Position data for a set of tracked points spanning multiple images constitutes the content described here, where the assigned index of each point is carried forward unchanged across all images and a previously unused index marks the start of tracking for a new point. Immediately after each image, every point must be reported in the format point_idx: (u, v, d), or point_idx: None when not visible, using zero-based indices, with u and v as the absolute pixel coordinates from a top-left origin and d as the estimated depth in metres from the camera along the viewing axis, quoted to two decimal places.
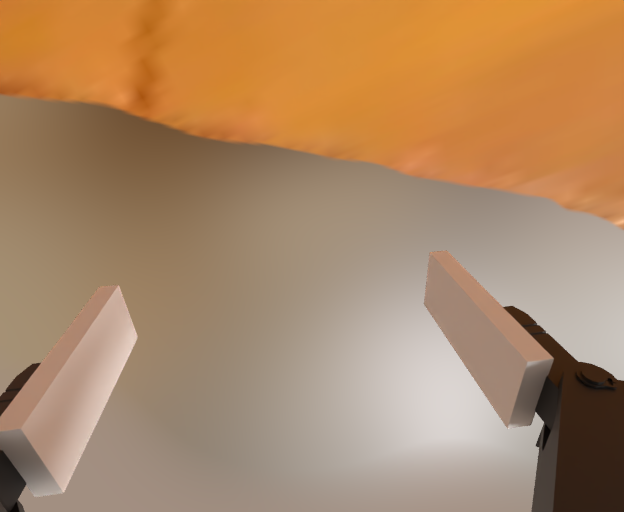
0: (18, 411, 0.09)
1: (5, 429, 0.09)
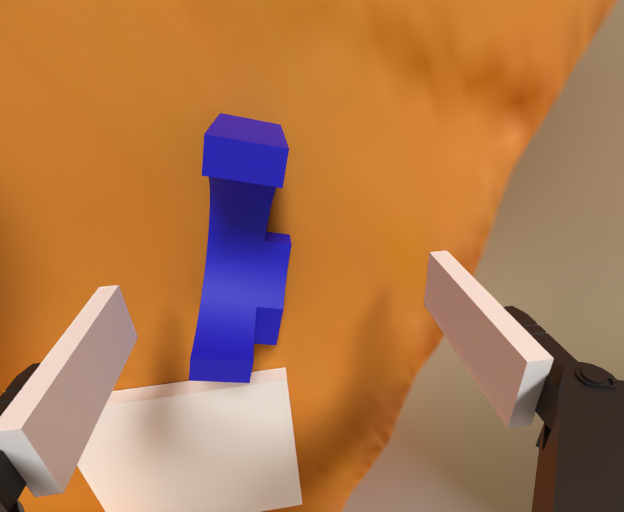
0: (18, 411, 0.09)
1: (5, 429, 0.09)
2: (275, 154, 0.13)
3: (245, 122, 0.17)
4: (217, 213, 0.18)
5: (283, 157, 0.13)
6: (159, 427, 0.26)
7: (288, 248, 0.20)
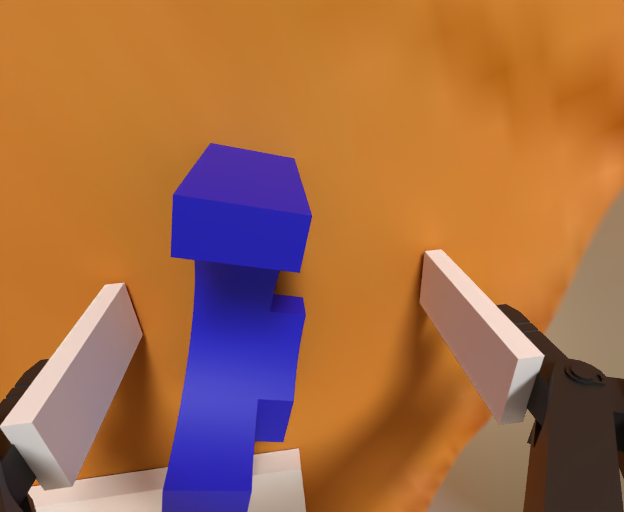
0: (28, 405, 0.09)
1: (16, 423, 0.09)
2: (289, 224, 0.08)
3: (245, 158, 0.12)
4: (205, 278, 0.13)
5: (303, 228, 0.08)
6: None
7: (301, 320, 0.15)
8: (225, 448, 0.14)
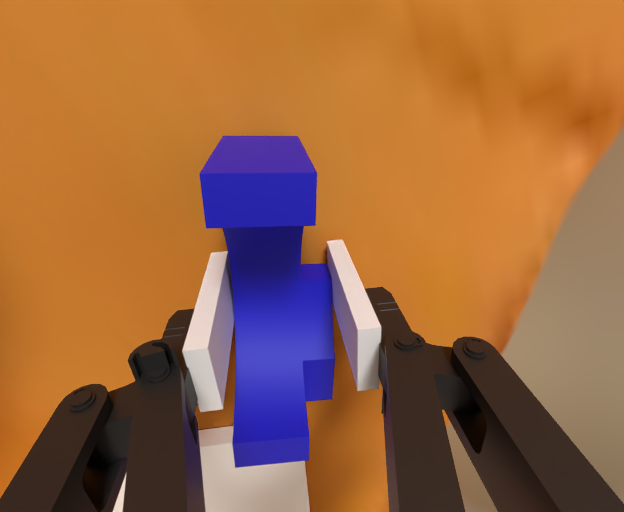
0: (198, 337, 0.11)
1: (195, 348, 0.11)
2: (299, 184, 0.10)
3: (254, 143, 0.13)
4: (238, 257, 0.15)
5: (311, 185, 0.10)
6: None
7: (330, 284, 0.16)
8: (280, 405, 0.15)
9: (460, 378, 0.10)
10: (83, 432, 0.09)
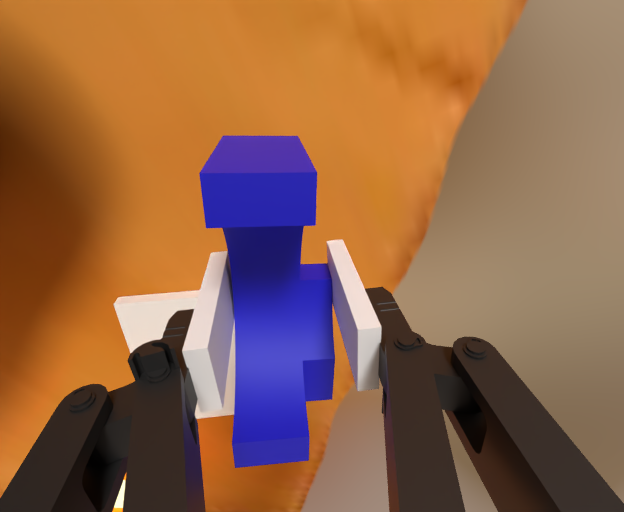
0: (197, 337, 0.11)
1: (194, 348, 0.11)
2: (299, 183, 0.10)
3: (254, 142, 0.13)
4: (238, 257, 0.15)
5: (311, 185, 0.10)
6: None
7: (330, 284, 0.16)
8: (280, 405, 0.15)
9: (460, 378, 0.10)
10: (83, 432, 0.09)
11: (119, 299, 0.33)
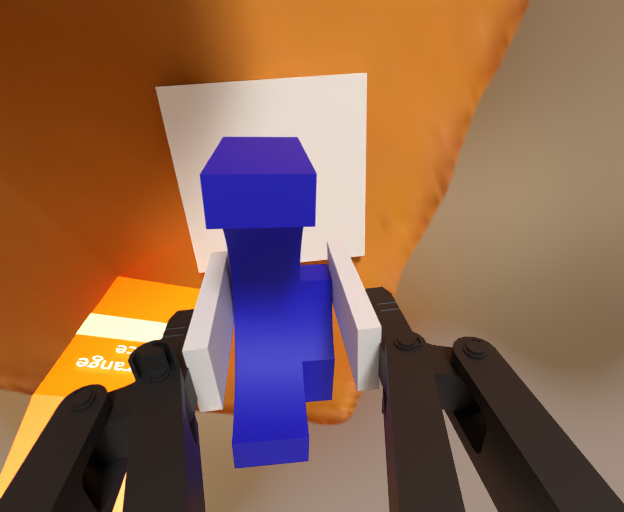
0: (197, 337, 0.11)
1: (194, 348, 0.11)
2: (299, 185, 0.10)
3: (254, 143, 0.13)
4: (238, 258, 0.15)
5: (311, 186, 0.10)
6: (250, 121, 0.28)
7: (329, 284, 0.16)
8: (280, 405, 0.15)
9: (460, 378, 0.10)
10: (83, 432, 0.09)
11: (160, 86, 0.27)
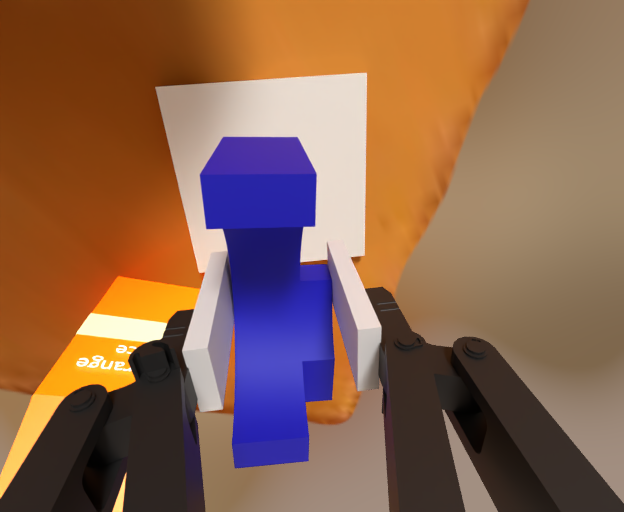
0: (198, 337, 0.11)
1: (194, 348, 0.11)
2: (299, 185, 0.10)
3: (254, 143, 0.13)
4: (237, 258, 0.15)
5: (311, 186, 0.10)
6: (250, 121, 0.28)
7: (329, 284, 0.16)
8: (280, 405, 0.15)
9: (460, 378, 0.10)
10: (83, 432, 0.09)
11: (160, 86, 0.27)
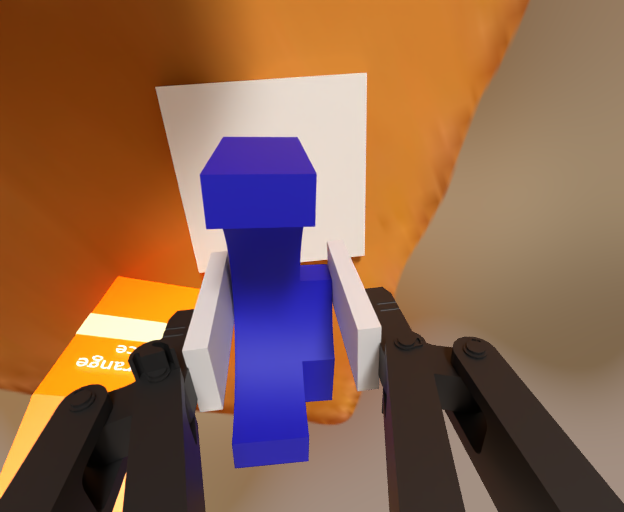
0: (198, 337, 0.11)
1: (194, 348, 0.11)
2: (299, 185, 0.10)
3: (254, 143, 0.13)
4: (237, 258, 0.15)
5: (311, 186, 0.10)
6: (250, 121, 0.28)
7: (329, 284, 0.16)
8: (280, 405, 0.15)
9: (460, 378, 0.10)
10: (83, 432, 0.09)
11: (160, 86, 0.27)
